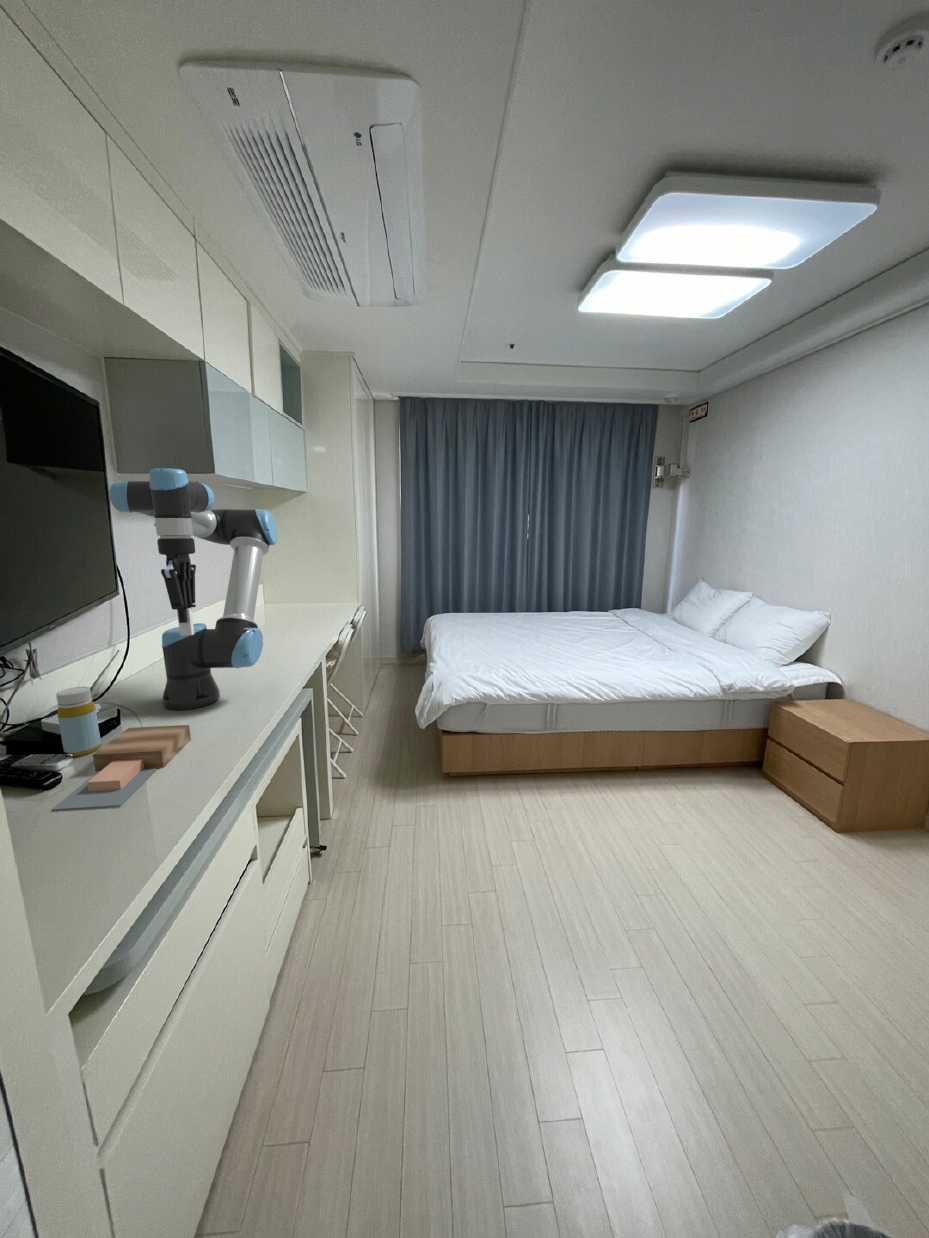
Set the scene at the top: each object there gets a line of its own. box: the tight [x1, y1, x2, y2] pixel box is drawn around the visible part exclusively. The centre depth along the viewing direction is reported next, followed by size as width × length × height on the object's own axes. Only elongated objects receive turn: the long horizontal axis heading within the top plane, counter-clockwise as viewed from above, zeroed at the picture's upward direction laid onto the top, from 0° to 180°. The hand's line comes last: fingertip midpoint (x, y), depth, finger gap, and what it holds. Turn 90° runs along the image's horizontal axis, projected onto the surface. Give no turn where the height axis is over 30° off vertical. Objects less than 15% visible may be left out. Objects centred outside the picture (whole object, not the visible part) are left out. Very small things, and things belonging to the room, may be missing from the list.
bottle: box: [55, 686, 102, 758], centre depth 114 cm, size 7×7×15 cm
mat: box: [51, 768, 158, 812], centre depth 99 cm, size 14×12×1 cm
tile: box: [87, 759, 144, 791], centre depth 102 cm, size 9×6×2 cm, turn 7°
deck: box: [92, 724, 192, 772], centre depth 113 cm, size 14×14×4 cm
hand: (187, 634), depth 119 cm, fingers closed
